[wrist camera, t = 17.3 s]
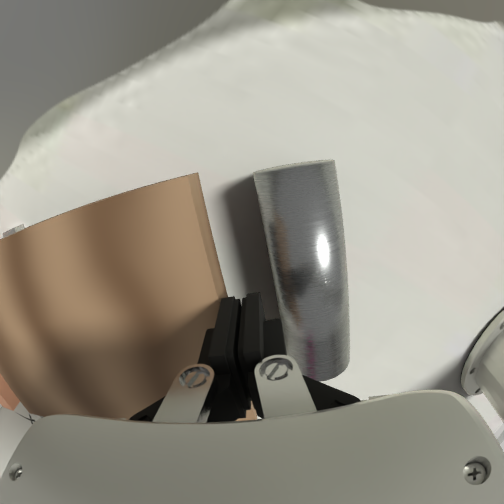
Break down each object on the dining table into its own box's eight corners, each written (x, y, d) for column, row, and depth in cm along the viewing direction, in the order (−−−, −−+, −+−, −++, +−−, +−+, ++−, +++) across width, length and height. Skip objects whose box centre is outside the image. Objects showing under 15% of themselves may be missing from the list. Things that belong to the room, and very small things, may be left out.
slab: (197, 172, 12) (187, 175, 10) (255, 395, 17) (257, 424, 14) (-32, 254, 13) (-51, 266, 11) (40, 395, 17) (29, 413, 15)
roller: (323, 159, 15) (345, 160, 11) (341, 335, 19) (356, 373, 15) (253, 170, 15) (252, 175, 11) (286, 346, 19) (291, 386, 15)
